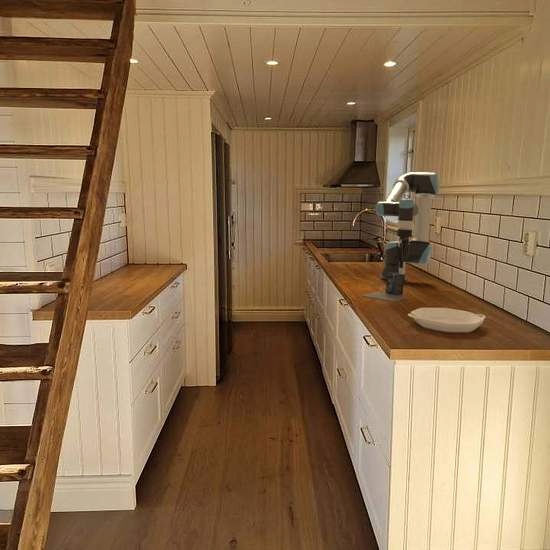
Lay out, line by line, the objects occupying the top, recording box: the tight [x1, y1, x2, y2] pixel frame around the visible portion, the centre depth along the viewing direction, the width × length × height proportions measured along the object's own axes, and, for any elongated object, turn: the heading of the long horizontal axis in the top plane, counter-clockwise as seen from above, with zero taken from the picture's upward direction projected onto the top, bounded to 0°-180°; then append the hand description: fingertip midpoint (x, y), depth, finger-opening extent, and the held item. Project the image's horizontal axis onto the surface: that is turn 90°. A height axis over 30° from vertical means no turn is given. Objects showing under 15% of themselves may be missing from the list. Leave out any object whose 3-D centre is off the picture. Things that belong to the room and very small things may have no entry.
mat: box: [362, 291, 408, 303], centre depth 239 cm, size 14×18×1 cm
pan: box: [407, 307, 487, 334], centre depth 189 cm, size 31×26×4 cm
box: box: [385, 272, 405, 296], centre depth 246 cm, size 8×6×11 cm
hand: (401, 273), depth 252 cm, fingers closed
